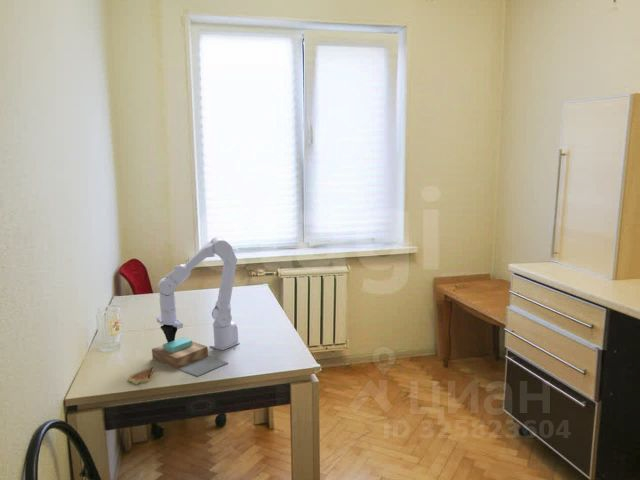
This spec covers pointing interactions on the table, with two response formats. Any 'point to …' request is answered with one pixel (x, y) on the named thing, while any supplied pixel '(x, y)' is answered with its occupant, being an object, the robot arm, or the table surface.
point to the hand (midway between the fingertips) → (171, 342)
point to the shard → (141, 376)
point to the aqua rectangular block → (177, 344)
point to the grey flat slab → (203, 366)
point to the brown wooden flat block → (180, 355)
